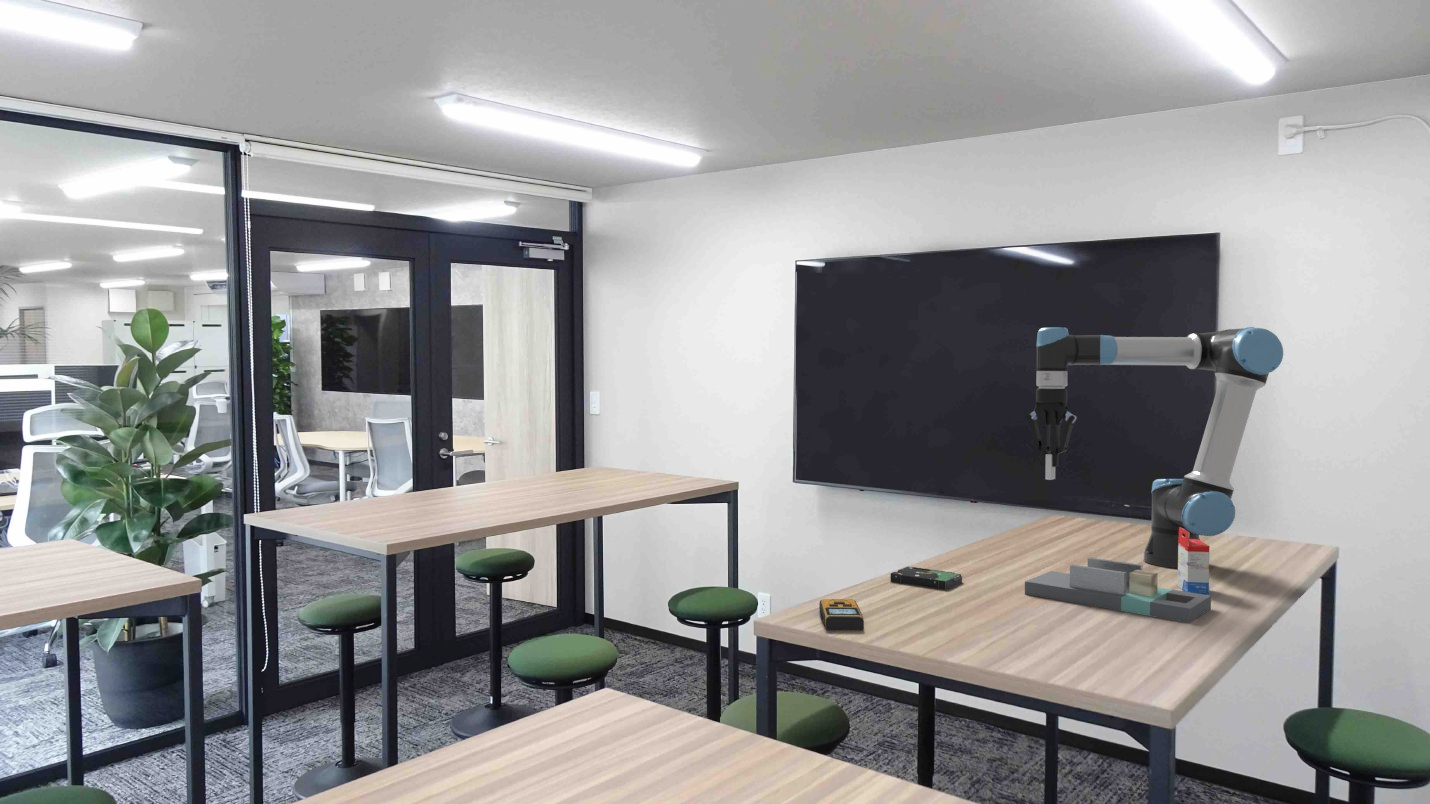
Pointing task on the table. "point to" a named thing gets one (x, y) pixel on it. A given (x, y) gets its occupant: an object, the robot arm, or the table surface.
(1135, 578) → the brass block
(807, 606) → the table surface
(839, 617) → the electronic device
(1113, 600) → the tunnel deck
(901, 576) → the disk drive
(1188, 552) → the ink box
